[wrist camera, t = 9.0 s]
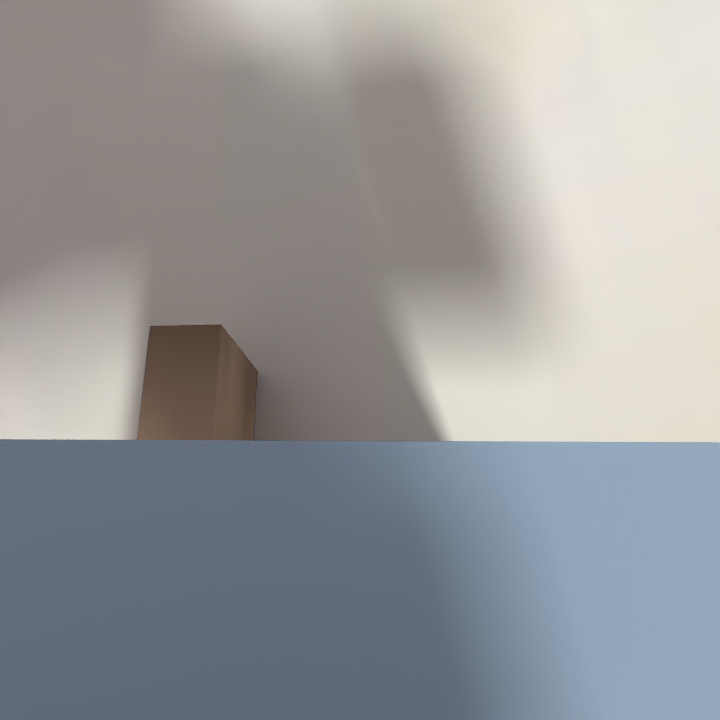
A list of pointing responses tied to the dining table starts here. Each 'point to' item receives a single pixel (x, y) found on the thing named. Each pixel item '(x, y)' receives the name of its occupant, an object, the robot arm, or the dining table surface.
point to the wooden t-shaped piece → (196, 386)
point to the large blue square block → (359, 580)
